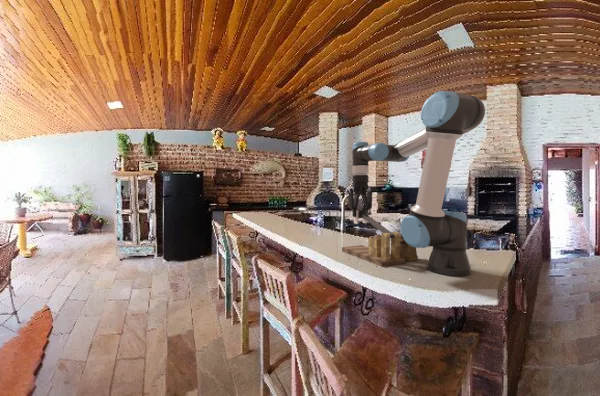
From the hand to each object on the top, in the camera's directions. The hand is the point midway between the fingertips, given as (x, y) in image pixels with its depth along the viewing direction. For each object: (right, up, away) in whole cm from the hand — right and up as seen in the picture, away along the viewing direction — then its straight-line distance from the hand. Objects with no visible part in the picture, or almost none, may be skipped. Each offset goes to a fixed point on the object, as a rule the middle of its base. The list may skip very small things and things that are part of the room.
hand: (360, 223), depth 145 cm
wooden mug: (+20, -15, -10) cm, 27 cm away
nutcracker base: (+3, -15, -7) cm, 17 cm away
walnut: (+5, -8, -12) cm, 15 cm away
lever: (+4, -1, -8) cm, 9 cm away
